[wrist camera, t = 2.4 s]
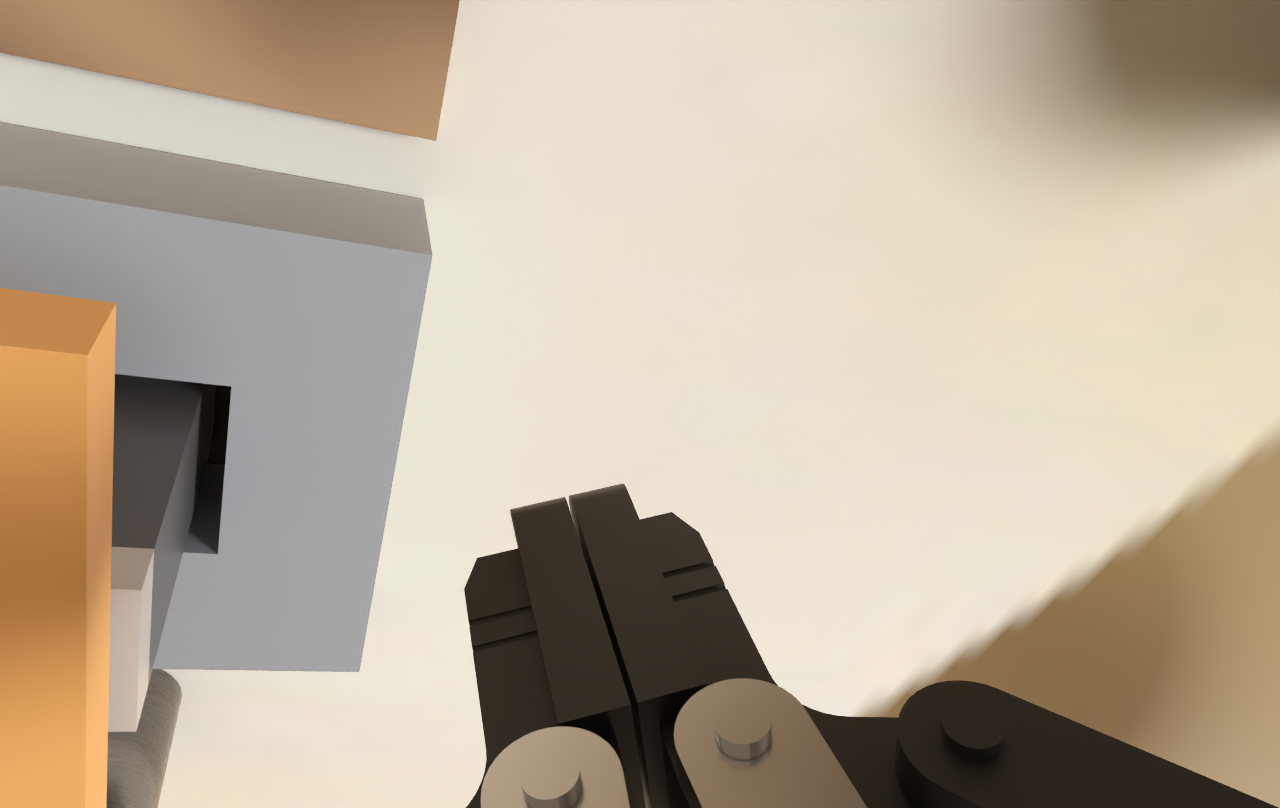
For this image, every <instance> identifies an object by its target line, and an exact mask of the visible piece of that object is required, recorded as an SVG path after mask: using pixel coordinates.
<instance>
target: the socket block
mask: <svg viewBox="0 0 1280 808" xmlns="http://www.w3.org/2000/svg"><path fill="white" fill-rule="evenodd" d="M431 259H432V251H431V245H430V238H429V232H428V226H427V219H426V213H425V207H424V200H423V199H420V198H414V197H409V196H403V195H398V194H392V193H387V192H381V191H376V190H370V189H365V188H359V187H354V186H348V185H343V184H337V183H332V182H326V181H321V180H315V179H310V178H304V177H299V176H293V175H288V174H282V173H277V172H271V171H266V170H261V169H255V168H250V167H244V166H239V165H233V164H228V163H222V162H217V161H211V160H206V159H200V158H195V157H189V156H184V155H178V154H173V153H167V152H162V151H156V150H151V149H145V148H140V147H134V146H129V145H123V144H118V143H112V142H107V141H101V140H96V139H90V138H85V137H79V136H74V135H68V134H63V133H57V132H52V131H46V130H41V129H35V128H30V127H24V126H19V125H14V124H8V123H3V122H0V288H6V289H13V290H21V291H29V292H36V293H44V294H51V295H59V296H67V297H74V298H82V299H89V300H97V301H105V302H112V303H116V341H115V374H121V375H130V376H139V377H148V378H157V379H167V380H176V381H185V382H194V383H203V384H212V385H222V386H231V398H230V410H229V423H228V435H227V447H226V459H225V465H218V464H206V467H205V471H204V475H203V478H202V482H201V486H200V490H199V494H198V498H197V501H196V505H195V509H194V513H193V517H192V520H191V524H190V528H189V532H188V536H187V540H186V543H185V547H184V551H183V555H182V559H181V562H180V566H179V570H178V574H177V578H176V582H175V585H174V589H173V593H172V597H171V601H170V605H169V608H168V612H167V616H166V620H165V624H164V627H163V631H162V635H161V639H160V643H159V647H158V650H157V654H156V658H155V662H154V666H153V669H204V670H268V671H332V672H359V669H360V664H361V658H362V652H363V647H364V641H365V635H366V630H367V624H368V618H369V612H370V607H371V601H372V595H373V590H374V584H375V578H376V573H377V567H378V561H379V555H380V550H381V544H382V538H383V533H384V527H385V521H386V516H387V510H388V504H389V499H390V493H391V487H392V481H393V476H394V470H395V464H396V459H397V453H398V447H399V442H400V436H401V430H402V424H403V419H404V413H405V407H406V402H407V396H408V390H409V385H410V379H411V373H412V368H413V362H414V356H415V350H416V345H417V339H418V333H419V328H420V322H421V316H422V311H423V305H424V299H425V294H426V288H427V282H428V276H429V271H430V265H431Z"/></svg>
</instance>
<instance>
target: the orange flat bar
mask: <svg viewBox="0 0 1280 808" xmlns="http://www.w3.org/2000/svg"><path fill="white" fill-rule="evenodd" d="M115 341H116V303H112V302H105V301H97V300H89V299H82V298H74V297H67V296H59V295H51V294H44V293H36V292H29V291H21V290H13V289H6V288H0V808H106V804H107V753H108V701H109V650H110V598H111V547H112V495H113V444H114V392H115Z"/></svg>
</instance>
